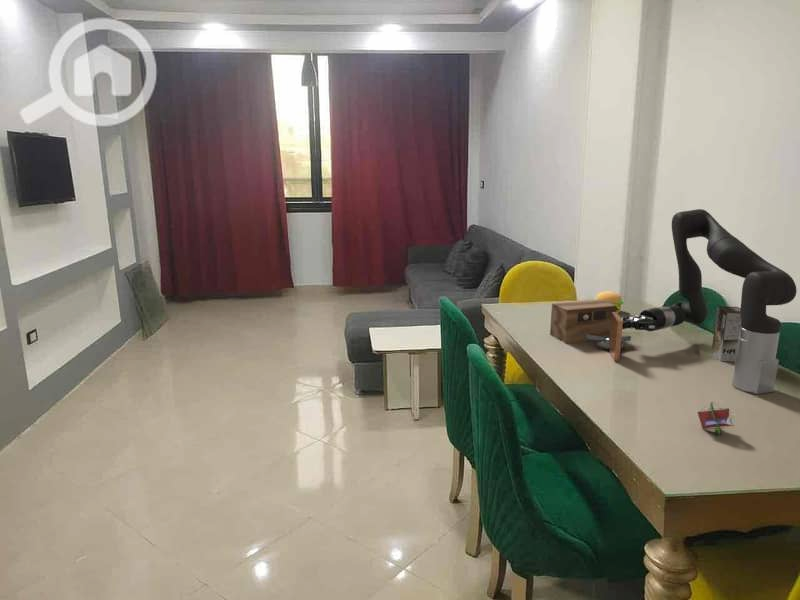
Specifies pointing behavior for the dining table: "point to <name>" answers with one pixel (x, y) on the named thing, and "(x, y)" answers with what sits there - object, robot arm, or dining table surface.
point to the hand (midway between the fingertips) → (619, 325)
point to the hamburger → (611, 299)
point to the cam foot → (612, 337)
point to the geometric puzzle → (716, 418)
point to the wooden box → (581, 319)
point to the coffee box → (726, 333)
